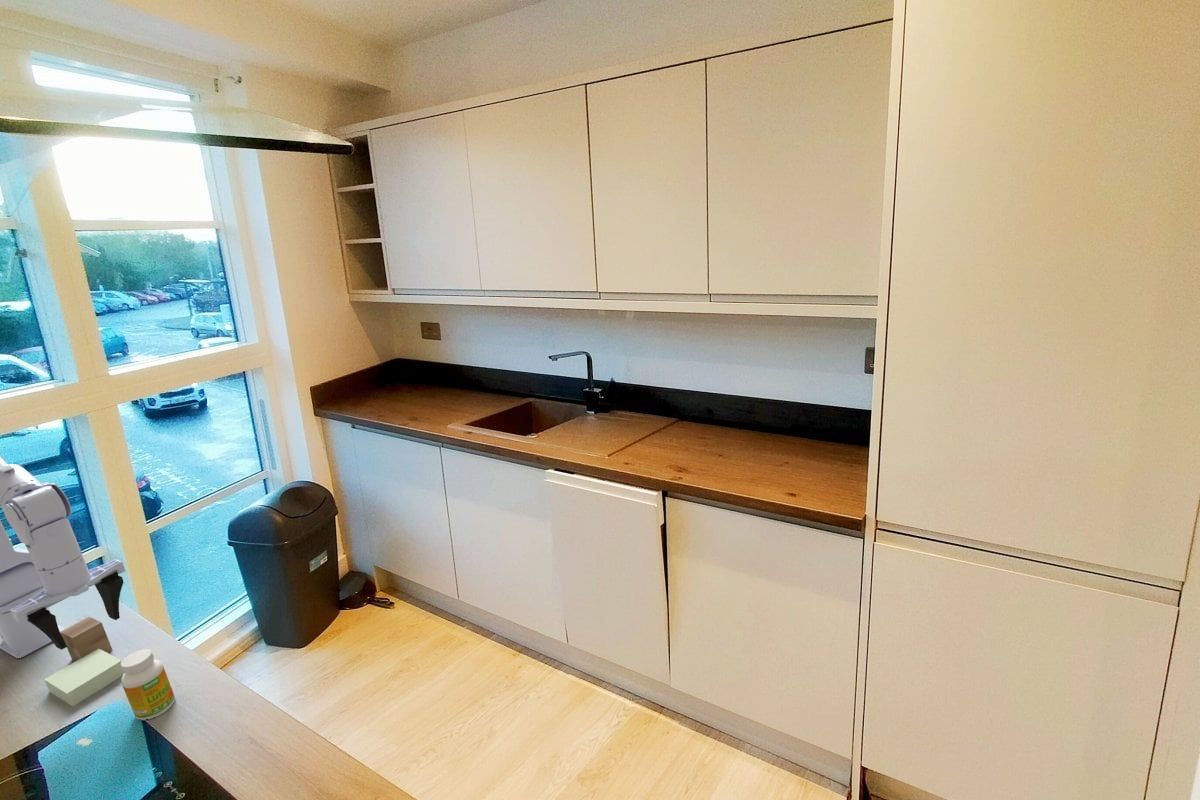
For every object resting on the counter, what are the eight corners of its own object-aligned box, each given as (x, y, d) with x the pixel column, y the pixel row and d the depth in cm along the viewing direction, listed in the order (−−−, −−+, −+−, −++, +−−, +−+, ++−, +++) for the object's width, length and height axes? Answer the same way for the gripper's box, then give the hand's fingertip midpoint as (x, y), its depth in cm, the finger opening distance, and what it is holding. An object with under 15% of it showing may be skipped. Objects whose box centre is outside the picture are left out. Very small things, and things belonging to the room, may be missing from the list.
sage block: (50, 693, 105) (44, 679, 104) (104, 662, 111) (98, 648, 110) (73, 708, 101) (67, 693, 100) (127, 674, 107) (121, 660, 106)
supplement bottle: (155, 722, 96) (134, 671, 93) (126, 719, 97) (105, 669, 94) (183, 696, 101) (165, 646, 98) (156, 693, 102) (137, 644, 99)
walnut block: (72, 659, 112) (60, 631, 110) (100, 643, 116) (89, 616, 114) (84, 666, 110) (72, 638, 108) (112, 649, 114) (101, 622, 112)
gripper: (12, 592, 90) (47, 668, 95) (122, 541, 102) (148, 611, 107) (-8, 582, 94) (26, 655, 98) (101, 534, 106) (127, 601, 110)
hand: (88, 631), depth 103 cm, fingers open, 7 cm apart
